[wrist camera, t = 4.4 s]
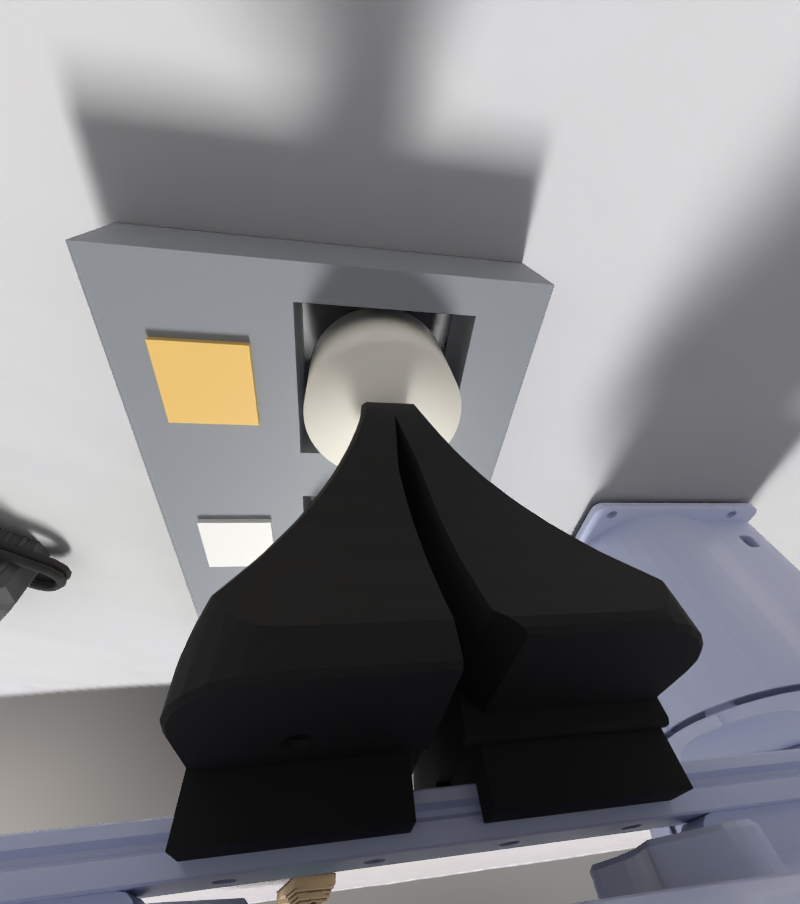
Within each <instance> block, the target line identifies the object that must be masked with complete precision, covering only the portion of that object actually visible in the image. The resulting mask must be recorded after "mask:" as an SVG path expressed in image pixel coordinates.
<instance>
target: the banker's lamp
mask: <svg viewBox="0 0 800 904" xmlns="http://www.w3.org/2000/svg"><path fill="white" fill-rule="evenodd" d="M335 878H336V873H334V874H324V875H313V876H303V877H294V878H293V879H292V880H291V881H290V882H289V883H288V884H287V885H286V886H284V887H283V888H282V889H281V890H280V891H279V892H278V893H277V903H276V904H284V903H290V904H323V903H324V902H326V901H327V898H329V894H330V893H331V889H333V888H334V885H335Z"/></svg>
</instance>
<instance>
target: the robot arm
mask: <svg viewBox="0 0 800 904" xmlns="http://www.w3.org/2000/svg"><path fill="white" fill-rule="evenodd" d="M756 510H757V509H756V508H755V507H754V506H753V505H751V504H749V503H599V504H596V505H595V506H593V507H592V508H591V510H590V512H589V513H588V515H587V517H586V519H585V520H584V522H583V524H582V526H581V528H580V529H579V531H578V533H577V535H576V537H575V538H574V537H572V536H571V535H569V534H567V533H565V532H563V531H562V530H560V529H558V528H557V527H555V526H553V525H551V524H550V523H548V522H547V521H545V520H543V519H542V518H540V517H539V516H537V515H536V514H534V513H533V512H531V511H530V510H528V509H526V508H525V507H523V506H522V505H520V504H519V503H518V502H516V501H515V500H513V499H512V498H510V497H509V496H508V495H506V494H505V493H504V492H503V491H501V490H500V489H499V488H497V487H496V486H495V485H494V484H492V483H491V482H490V481H488V480H487V479H486V478H485V477H484V476H482V475H481V474H480V473H479V472H478V471H477V470H476V469H474V468H473V467H472V466H471V465H470V464H469V463H468V462H467V461H466V460H465V459H464V458H463V457H461V456H460V455H459V454H458V453H457V452H456V451H455V450H454V449H453V448H452V446H451V445H450V444H449V443H448V442H447V441H446V440H445V439H444V438H443V437H442V436H441V435H440V434H439V433H438V431H437V430H436V429H435V428H434V427H433V426H432V425H431V423H430V422H429V421H428V420H427V419H426V418H425V416H424V415H423V414H422V413H421V412H420V411H419V409H418V408H417V407H416V406H415V405H414V404H404V403H380V402H365V403H364V404H363V405H361V415H360V419H359V422H358V425H357V428H356V431H355V433H354V435H353V438H352V440H351V442H350V444H349V446H348V448H347V450H346V452H345V454H344V456H343V457H342V459H341V461H340V463H339V464H338V466H337V468H336V469H335V471H334V472H333V474H332V476H331V477H330V479H329V480H328V481H327V483H326V484H325V486H324V487H323V488H322V490H321V491H320V492H319V494H318V495H317V496H316V498H315V499H314V500H313V501H312V502H311V504H310V505H309V506H308V507H307V508H306V510H305V511H304V512H303V513H302V514H301V515H300V517H299V518H298V519H297V520H296V521H295V522H294V523H293V524H292V525H291V526H290V527H289V528H288V529H287V530H286V531H285V532H284V533H283V534H282V535H281V536H280V537H279V538H278V539H277V540H276V541H275V542H274V543H273V544H272V545H271V546H270V547H269V548H268V549H267V550H266V551H265V552H264V553H262V554H261V555H260V556H259V557H258V558H257V559H256V560H255V561H253V562H252V563H251V564H250V565H248V566H247V567H246V568H245V569H244V570H242V571H241V572H240V573H239V574H237V575H236V576H235V577H234V578H233V579H231V580H230V581H229V582H228V583H226V584H225V585H224V586H223V587H222V588H220V589H219V590H218V591H217V592H215V593H214V594H213V595H212V596H211V597H210V599H209V601H208V602H207V604H206V606H205V608H204V610H203V611H202V613H201V615H200V617H199V619H198V620H197V622H196V624H195V626H194V628H193V630H192V633H191V635H190V637H189V639H188V641H187V643H186V645H185V648H184V650H183V652H182V654H181V657H180V659H179V661H178V664H177V667H176V670H175V673H174V676H173V679H172V682H171V685H170V689H169V692H168V695H167V698H166V701H165V705H164V708H163V711H162V714H161V718H160V724H161V728H162V731H163V734H164V735H165V737H166V738H167V739H168V741H169V743H170V744H171V746H172V747H173V749H174V750H175V752H176V753H177V755H178V756H179V758H180V759H181V761H182V762H183V764H184V765H185V767H186V771H185V776H184V779H183V783H182V787H181V791H180V795H179V799H178V803H177V806H176V811H175V815H174V816H168V817H160V818H151V819H141V820H131V821H122V822H114V823H103V824H95V825H85V826H76V827H67V828H58V829H48V830H38V831H30V832H20V833H11V834H1V835H0V904H145V903H144V902H143V901H142V900H141V899H140V898H146V897H153V896H161V895H168V894H175V893H183V892H190V891H198V890H205V889H212V888H220V887H227V886H234V885H242V884H249V883H257V882H264V881H271V880H279V879H286V878H294V877H301V876H308V875H316V874H323V873H330V872H338V871H345V870H353V869H360V868H367V867H375V866H382V865H390V864H397V863H404V862H412V861H419V860H427V859H434V858H441V857H449V856H456V855H463V854H471V853H478V852H486V851H493V850H500V849H508V848H515V847H523V846H530V845H537V844H545V843H552V842H560V841H567V840H574V839H582V838H589V837H596V836H604V835H611V834H619V833H626V832H633V831H641V830H648V829H650V833H651V836H652V839H650V840H647V841H645V842H644V843H642V844H641V845H640V846H638V847H637V848H636V849H633V850H631V851H629V852H627V853H625V854H622V855H620V856H618V857H615V858H612V859H609V860H606V861H603V862H600V863H597V864H594V865H592V867H591V870H590V873H591V877H592V880H593V883H594V885H595V889H596V892H597V895H598V898H599V899H597V900H592V901H585V902H579V903H573V904H800V571H799V570H798V569H797V568H796V567H795V566H794V565H793V564H792V563H791V562H789V561H788V560H787V559H786V558H785V557H784V556H783V555H782V554H781V553H780V552H779V551H778V550H777V549H776V548H775V547H774V546H773V545H772V544H770V543H769V542H768V541H767V540H766V539H765V538H764V537H763V536H762V535H761V534H760V533H759V532H758V531H757V530H756V529H755V528H754V527H752V526H751V525H750V524H749V523H748V521H749V520H750V519H751V518H752V517H753V516H754V515H755V513H756ZM412 773H414V790H413V784H412ZM150 904H248V903H247V902H246V900H245V898H237V899H218V900H199V901H180V902H161V903H150Z"/></svg>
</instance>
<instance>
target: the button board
mask: <svg viewBox="0 0 800 904" xmlns="http://www.w3.org/2000/svg"><path fill="white" fill-rule="evenodd" d="M66 243H67V246H68V249H69V252H70V255H71V257H72V260H73V263H74V266H75V269H76V272H77V274H78V277H79V280H80V283H81V286H82V289H83V291H84V294H85V297H86V300H87V303H88V306H89V308H90V311H91V314H92V317H93V320H94V323H95V326H96V328H97V331H98V334H99V337H100V340H101V343H102V345H103V348H104V351H105V354H106V357H107V360H108V362H109V365H110V368H111V371H112V374H113V377H114V379H115V382H116V385H117V388H118V391H119V394H120V396H121V399H122V402H123V405H124V408H125V411H126V413H127V416H128V419H129V422H130V425H131V428H132V430H133V433H134V436H135V439H136V442H137V445H138V447H139V450H140V453H141V456H142V459H143V462H144V464H145V467H146V470H147V473H148V476H149V479H150V481H151V484H152V487H153V490H154V493H155V496H156V498H157V501H158V504H159V507H160V510H161V513H162V515H163V518H164V521H165V524H166V527H167V530H168V533H169V535H170V538H171V541H172V544H173V547H174V550H175V552H176V555H177V558H178V561H179V564H180V567H181V569H182V572H183V575H184V578H185V581H186V584H187V586H188V589H189V592H190V595H191V598H192V601H193V603H194V606H195V609H196V612H197V615H198V618H199V617H200V615H201V613H202V611H203V610H204V608H205V606H206V604H207V602H208V601H209V599H210V597H211V596H212V595H213V594H214V593H215V592H217V591H218V590H219V589H220V588H222V587H223V586H224V585H225V584H226V583H228V582H229V581H230V580H231V579H233V578H234V577H235V576H236V575H237V574H239V573H240V572H241V571H242V570H244V569H245V568H246V567H247V566H248V565H250V564H251V563H252V562H253V561H255V560H256V559H257V558H258V557H259V556H260V555H261V554H262V553H264V552H265V551H266V550H267V549H268V548H269V547H270V546H271V545H272V544H273V543H274V542H275V541H276V540H277V539H278V538H279V537H280V536H281V535H282V534H283V533H284V532H285V531H286V530H287V529H288V528H289V527H290V526H291V525H292V524H293V523H294V522H295V521H296V520H297V519H298V518H299V517H300V515H301V514H302V513H303V512H304V511H305V510H306V508H307V507H308V506H309V505H310V503H309V496H317V495H318V494H319V492H320V491H321V490H322V488H323V487H324V486H325V484H326V483H327V481H328V480H329V479H330V477H331V476H332V474H333V472H334V471H335V469H336V468H337V465H335V464H333V463H332V462H330V461H329V460H328V459H326V458H325V457H324V456H323V455H322V454H321V453H320V452H319V451H318V450H317V448H316V447H315V446H314V444H313V443H312V441H311V440H310V438H309V435H308V433H307V431H306V427H305V424H304V416H303V407H304V399H305V393H306V392H305V365H304V337H303V309H302V303H313V304H326V305H339V306H352V307H365V308H378V309H391V310H404V311H417V312H430V313H443V314H452V318H451V323H450V328H449V334H448V339H447V344H446V350H445V355H444V357H445V359H446V361H447V363H448V365H449V368H450V370H451V372H452V374H453V376H454V378H455V381H456V383H457V385H458V388H459V391H460V396H461V416H460V421H459V424H458V427H457V430H456V432H455V434H454V436H453V438H452V439H451V441H450V442H449V444H450V445H451V446H452V448H453V449H454V450H455V451H456V452H457V453H458V454H459V455H460V456H461V457H463V458H464V459H465V460H466V461H467V462H468V463H469V464H470V465H471V466H472V467H473V468H474V469H476V470H477V471H478V472H479V473H480V474H481V475H482V476H484V477H485V478H486V479H487V480H488V481H490V480H491V477H492V474H493V471H494V468H495V465H496V462H497V459H498V456H499V453H500V450H501V447H502V444H503V441H504V438H505V435H506V431H507V428H508V425H509V422H510V419H511V416H512V413H513V410H514V407H515V404H516V401H517V398H518V395H519V392H520V389H521V386H522V383H523V379H524V376H525V373H526V370H527V367H528V364H529V361H530V358H531V355H532V352H533V349H534V346H535V343H536V340H537V337H538V334H539V331H540V327H541V324H542V321H543V318H544V315H545V312H546V309H547V306H548V303H549V300H550V297H551V294H552V291H553V288H554V284H552V283H551V282H549V281H548V280H546V279H545V278H543V277H542V276H541V275H539V274H538V273H536V272H535V271H533V270H532V269H530V268H529V267H527V266H526V265H524V264H523V263H515V262H505V261H495V260H485V259H475V258H465V257H455V256H445V255H435V254H425V253H415V252H405V251H395V250H385V249H375V248H365V247H355V246H345V245H334V244H324V243H314V242H304V241H294V240H284V239H274V238H264V237H254V236H244V235H234V234H224V233H214V232H204V231H194V230H184V229H174V228H164V227H154V226H144V225H134V224H124V223H113V224H110V225H107V226H104V227H101V228H98V229H95V230H92V231H90V232H87V233H84V234H81V235H78V236H75V237H72V238H69V239H67V240H66Z"/></svg>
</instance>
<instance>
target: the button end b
mask: <svg viewBox="0 0 800 904" xmlns="http://www.w3.org/2000/svg"><path fill="white" fill-rule="evenodd" d="M365 402H380V403H404V404H414V405H415V406H416V407H417V408H418V409H419V411H420V412H421V413H422V414H423V415H424V416H425V418H426V419H427V420H428V421H429V422H430V423H431V425H432V426H433V427H434V428H435V429H436V430H437V431H438V433H439V434H440V435H441V436H442V437H443V438H444V439H445V440H446V441H447V442H448V443H449V442H450V441H451V439H452V438H453V436H454V434H455V432H456V430H457V427H458V424H459V421H460V416H461V396H460V391H459V388H458V385H457V383H456V381H455V378H454V376H453V374H452V372H451V370H450V368H449V365H448V363H447V361H446V359H445V357H444V354H443V352H442V350H441V348H440V346H439V344H438V342H437V340H436V338H435V336H434V335H433V334H432V332H431V331H430V330H429V329H428V328H427V327H426V325H424V324H423V323H422V322H421V321H420V320H418V319H417V318H415V317H413V316H412V315H410V314H408V313H405V312H403V311H400V310H391V309H378V308H364V309H360V310H356V311H353V312H351V313H348V314H346V315H344V316H342V317H341V318H339V319H337V320H336V321H335V322H334V323H332V324H331V325H330V326H329V327H328V328H327V329H326V330H325V331H324V332H323V334H322V335H321V336H320V338H319V339H318V341H317V343H316V345H315V347H314V350H313V353H312V357H311V362H310V368H309V374H308V381H307V387H306V393H305V399H304V407H303V416H304V424H305V427H306V431H307V433H308V435H309V438H310V440H311V441H312V443H313V444H314V446H315V447H316V448H317V450H318V451H319V452H320V453H321V454H322V455H323V456H324V457H325V458H326V459H328V460H329V461H330V462H332V463H333V464H335V465H337V466H338V464H339V463H340V461H341V459H342V457H343V456H344V454H345V452H346V450H347V448H348V446H349V444H350V442H351V440H352V438H353V435H354V433H355V431H356V428H357V425H358V422H359V419H360V415H361V405H363V404H364V403H365Z"/></svg>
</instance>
